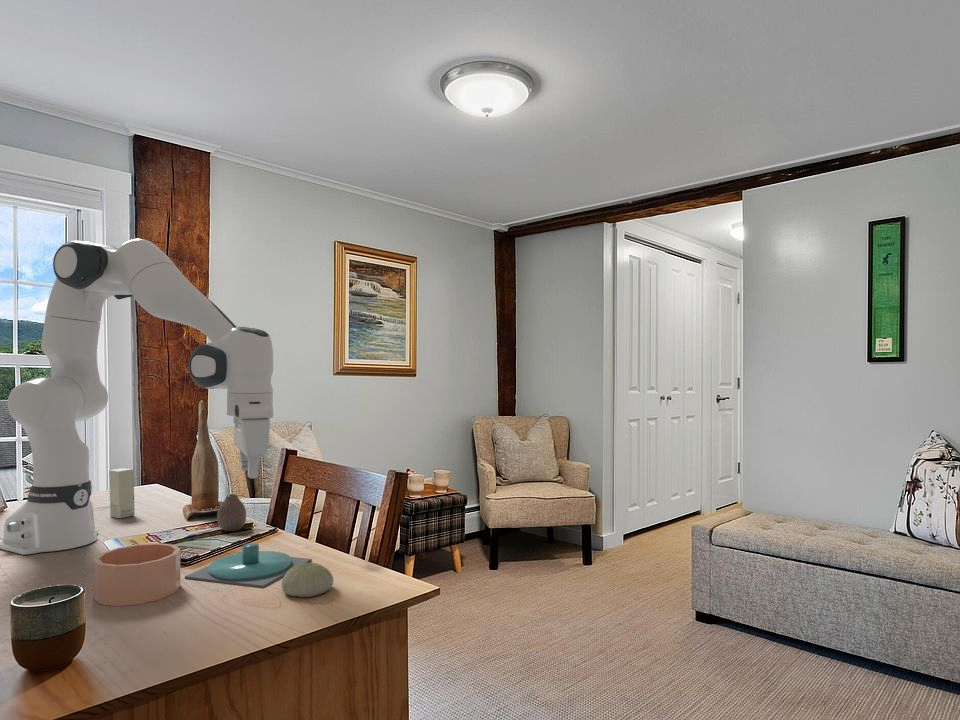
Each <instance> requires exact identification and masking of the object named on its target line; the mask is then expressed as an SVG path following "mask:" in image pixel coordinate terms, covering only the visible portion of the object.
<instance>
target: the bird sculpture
mask: <svg viewBox="0 0 960 720" xmlns="http://www.w3.org/2000/svg"><path fill="white" fill-rule="evenodd" d="M210 437H211V436H210V432H209V425H208V420H207V415H206V406H205V403H204V400H203V399H201V400H200V401H199V405H198V425H197V441H196V446H195V448H194V452H193V456H192V459H191V503H190V504H185V505H184V506H183V508H182V513H183V516H184V519H185V521H186V522H187V521H188V519H189V518H190V517H191V516H192V515H195V513H201V512H210V511H216V510H217V511H218V509H219V507H220V505H221V504H222V503H223V501H222V500H221V501H220V500H219V496H220V495H219V493H220V492H219V488H220V485H219V482H220V475H219V462H218V457H217V455H216V451H215V449H214V447H213V445H212V442H211V438H210Z"/></svg>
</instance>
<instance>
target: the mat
mask: <svg viewBox="0 0 960 720" xmlns="http://www.w3.org/2000/svg"><path fill="white" fill-rule="evenodd" d="M238 553H242V551H239V552H237V553H235V554H238ZM290 557H291V566H290V567H289V568H288V569H287V570H285V571H283V572H281V573H279V574H276V575H273V576H269V577H265V578H260V579H253V580H241V581H232V580H221V579H217V578H214V577H212V576H210V575H209V565H207V566H204V567H203V568H200V569H198V570H196V571H194V572H191V573H189V574H187V575H184V579H186V580H195V581H203V582H204V581H205V582H213V583H221V584H229V585H236V586H237V585H238V586H244V587H245V586H246V587H255V588H262V589H263V588H265V587H267V586H269V585H271V584H273V583H275V582H276V581H278V580H280V579H281V578H282V579H283V578H284V575H285V574H286V572H287V571H288V570H289V569H291V567H293V566H295V565H297V564H302V563H311V562H312V558H307V557H306V558H305V557H304V558H303V557H296V556H295V557H294V556H290Z"/></svg>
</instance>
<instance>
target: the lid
mask: <svg viewBox="0 0 960 720" xmlns="http://www.w3.org/2000/svg"><path fill="white" fill-rule="evenodd" d="M259 545H260V544H258V543H256V542H254V543H253V542H252V543H251V542H250V543H246V544H242V549H241V552H242V553H238V552H237V553H238V554H236V553H233V554H229V555H226V556H222V557H220V558H218V559H215V560H213V561H211V563H209V565H208V566H209V575H210V576H212V577H214V578H217V579H221V580H232V581H241V580H253V579H260V578H265V577H269V576H273V575H276V574H279V573H281V572H283V571H285V570H287V569H288V568H289V567H290V566H291V557H292V556H291V555H289V554H287V553H285V552H280V551H276V550H275V551H273V550H272V551H271V550H260V547H259Z"/></svg>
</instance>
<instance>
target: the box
mask: <svg viewBox="0 0 960 720" xmlns="http://www.w3.org/2000/svg"><path fill="white" fill-rule="evenodd" d="M134 474H135V471H134V469H133V468H126V467H123V468H115V469H110V470H109V473H108V477H109V515H110V517H111V518H116V519H124V518H129V517H132V516H135V515H136V514H135V480H134V479H135V478H134Z"/></svg>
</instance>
